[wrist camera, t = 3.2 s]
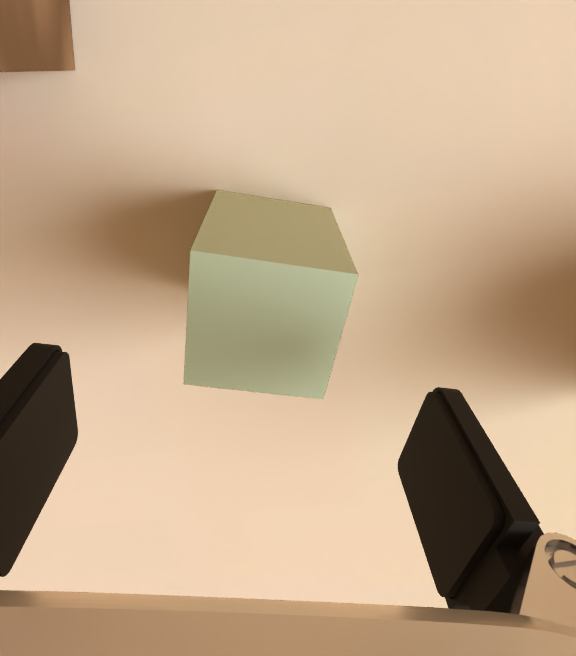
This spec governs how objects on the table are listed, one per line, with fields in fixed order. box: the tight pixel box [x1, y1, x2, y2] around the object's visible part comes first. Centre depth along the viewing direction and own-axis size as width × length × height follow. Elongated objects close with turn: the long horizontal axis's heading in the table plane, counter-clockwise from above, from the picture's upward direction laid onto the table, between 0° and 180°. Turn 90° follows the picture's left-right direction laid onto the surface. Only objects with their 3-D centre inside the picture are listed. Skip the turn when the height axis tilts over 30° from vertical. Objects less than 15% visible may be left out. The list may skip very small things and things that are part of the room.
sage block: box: [184, 190, 358, 399], centre depth 17 cm, size 5×5×7 cm
